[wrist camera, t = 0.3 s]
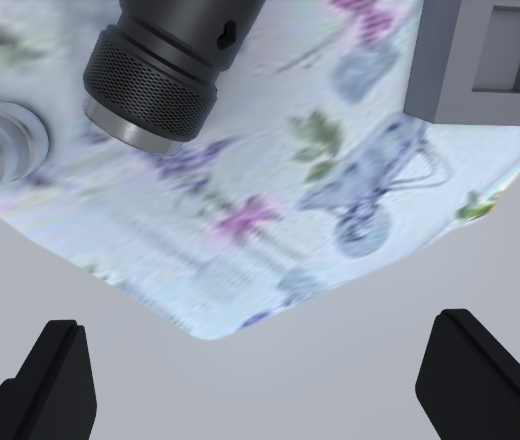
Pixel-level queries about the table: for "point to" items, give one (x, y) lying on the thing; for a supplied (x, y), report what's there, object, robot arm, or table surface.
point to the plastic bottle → (20, 142)
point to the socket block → (467, 63)
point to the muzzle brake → (163, 68)
